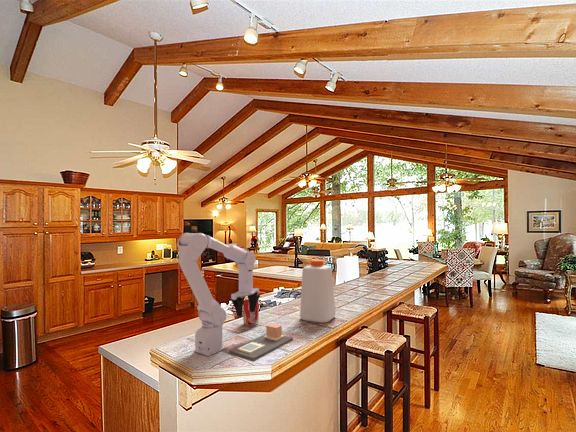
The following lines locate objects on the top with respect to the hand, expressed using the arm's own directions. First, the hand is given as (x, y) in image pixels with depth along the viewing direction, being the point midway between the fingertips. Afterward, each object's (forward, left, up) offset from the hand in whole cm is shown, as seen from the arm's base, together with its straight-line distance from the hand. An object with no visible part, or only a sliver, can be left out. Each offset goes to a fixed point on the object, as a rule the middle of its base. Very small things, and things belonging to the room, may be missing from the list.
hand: (246, 314), depth 129 cm
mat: (-4, -12, -9) cm, 15 cm away
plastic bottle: (+39, -11, -10) cm, 42 cm away
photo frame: (-9, -11, -9) cm, 17 cm away
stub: (+4, -11, -9) cm, 15 cm away
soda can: (+14, +10, -10) cm, 20 cm away
